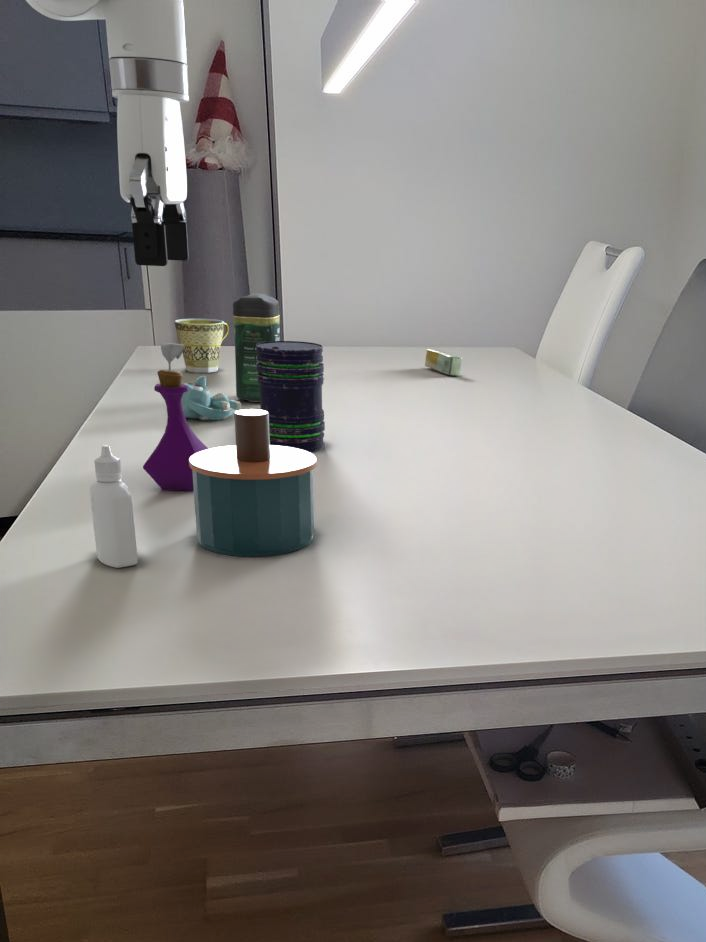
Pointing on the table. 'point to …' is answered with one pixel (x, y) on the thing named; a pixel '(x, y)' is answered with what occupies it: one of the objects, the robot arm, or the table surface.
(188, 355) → the ceramic cup
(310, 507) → the tin
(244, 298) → the coffee jar
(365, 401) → the table surface
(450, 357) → the medication box
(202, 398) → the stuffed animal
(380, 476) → the table surface
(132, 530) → the eye dropper bottle
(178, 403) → the perfume bottle
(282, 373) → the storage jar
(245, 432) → the tin lid
